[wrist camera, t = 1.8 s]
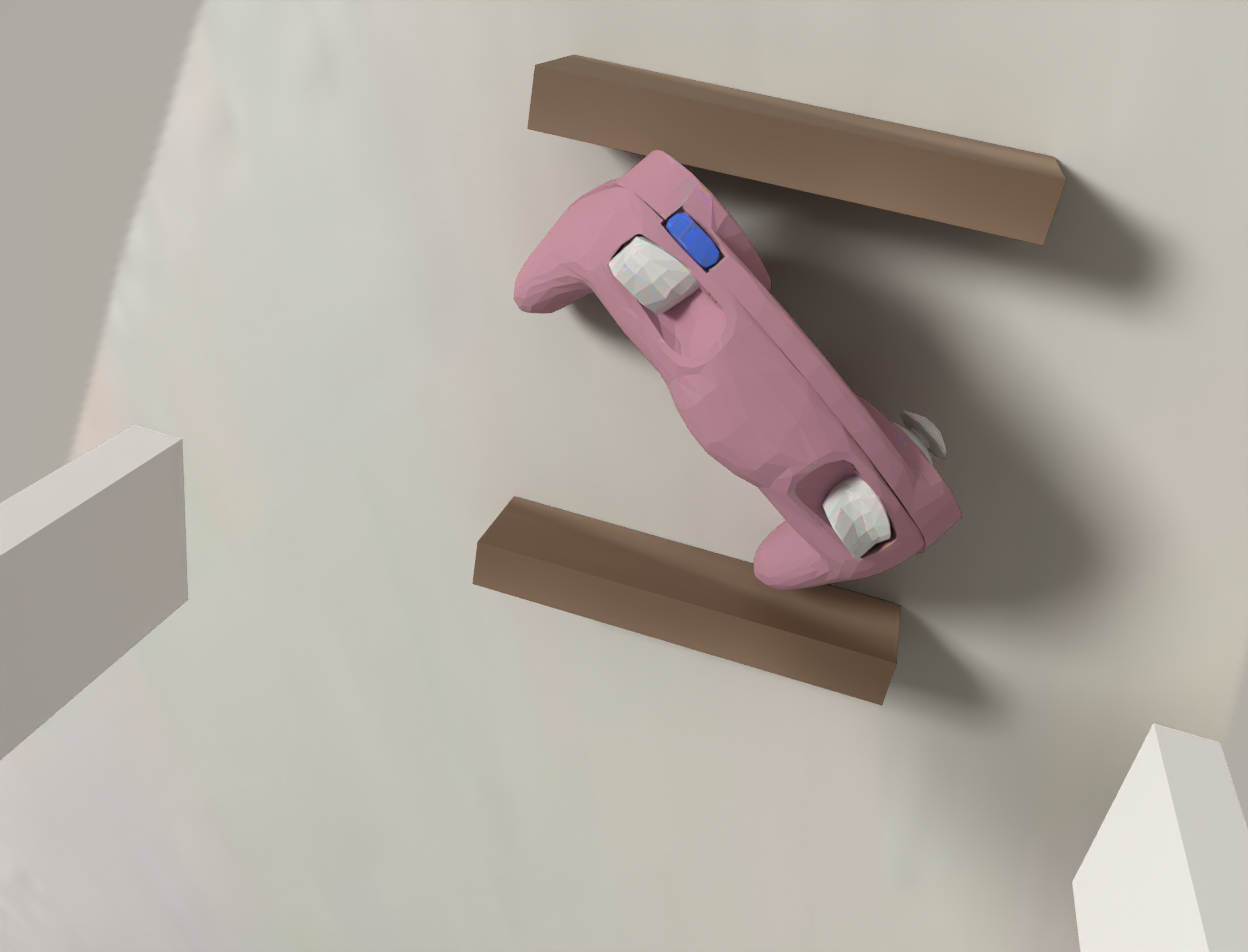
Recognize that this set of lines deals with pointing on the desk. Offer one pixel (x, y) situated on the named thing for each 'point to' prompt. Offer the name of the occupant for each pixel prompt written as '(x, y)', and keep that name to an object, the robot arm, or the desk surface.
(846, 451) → the video game controller
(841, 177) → the dock
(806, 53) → the desk surface
